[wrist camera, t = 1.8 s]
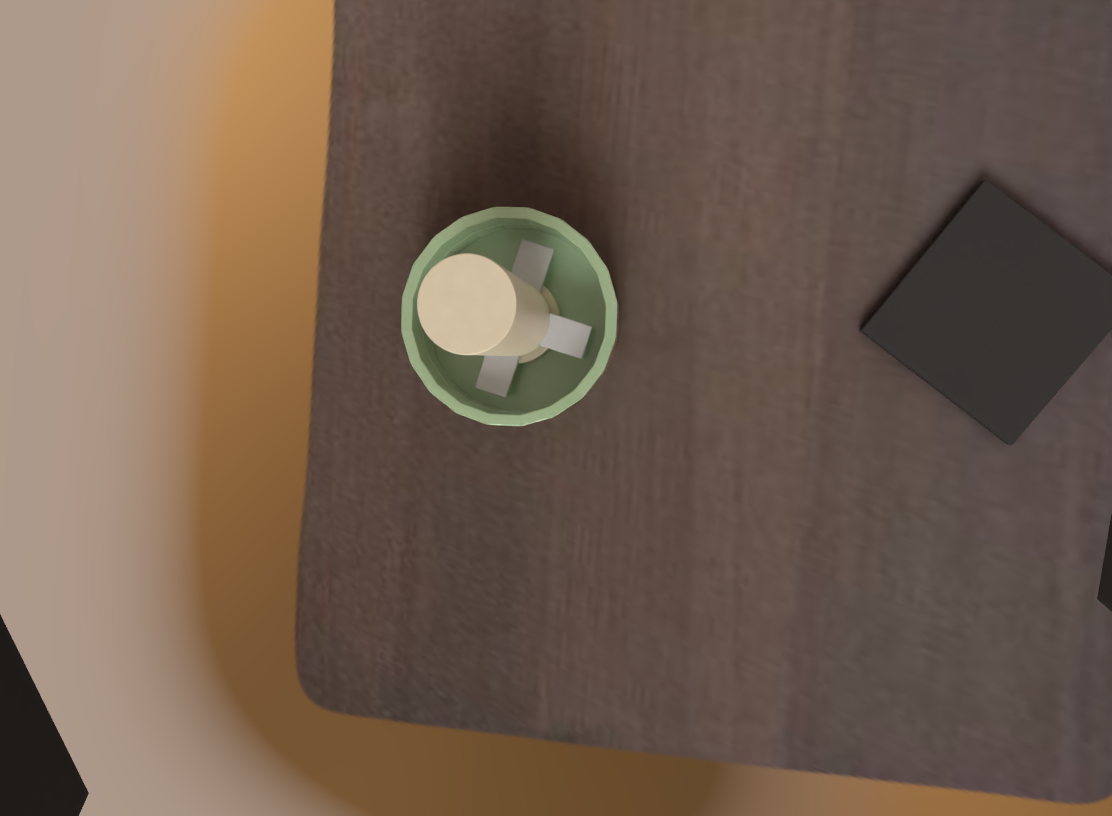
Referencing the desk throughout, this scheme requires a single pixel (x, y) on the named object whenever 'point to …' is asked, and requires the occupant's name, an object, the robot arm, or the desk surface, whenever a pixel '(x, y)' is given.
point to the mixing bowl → (569, 279)
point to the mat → (996, 312)
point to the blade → (497, 313)
